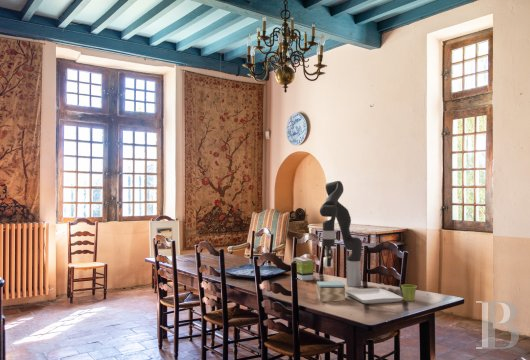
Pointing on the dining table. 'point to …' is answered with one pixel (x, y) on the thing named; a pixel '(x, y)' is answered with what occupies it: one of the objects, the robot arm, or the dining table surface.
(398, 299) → the square plate
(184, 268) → the dining table surface
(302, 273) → the tea box
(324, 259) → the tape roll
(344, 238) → the robot arm
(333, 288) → the woven basket
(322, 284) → the box lid
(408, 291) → the plant pot
